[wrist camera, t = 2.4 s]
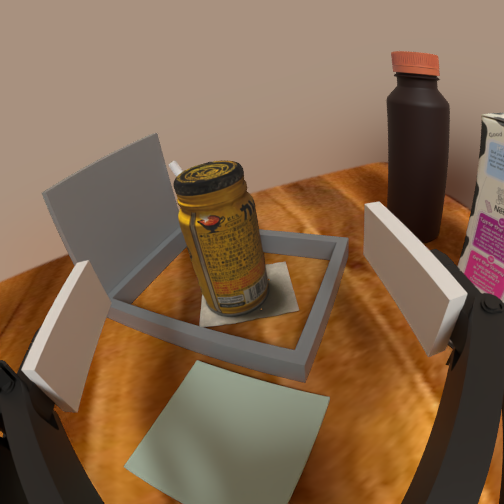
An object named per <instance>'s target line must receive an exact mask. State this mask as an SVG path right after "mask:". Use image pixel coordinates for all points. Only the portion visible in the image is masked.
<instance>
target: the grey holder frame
mask: <svg viewBox="0 0 504 504" xmlns="http://www.w3.org/2000/svg"><path fill="white" fill-rule="evenodd" d="M169 167H170V168H171V170H172V171H173V173H174V174H175V175H176V177H177V176H178V175H179V174H180V173H182V172H183V171H182V169H181V168H180V166H179V165H178V164H177V162H176V161H173V162H171V163H170V164H169ZM42 195H43V198H44V200H45V203H46V205H47V207H48V210H49V212H50V215H51V217H52V219H53V222H54V224H55V226H56V228H57V231H58V233H59V235H60V237H61V239H62V241H63V243H64V245H65V247H66V250H67V251H68V254H69V256H70V258H71V259H72V261H73V263H74V265H76V264H77V263H78V262H83V261H87V260H89V261H90V263H91V265H92V267H93V269H94V271H95V273H96V275H97V277H98V279H99V281H100V283H101V285H102V286H103V288H104V290H105V292H106V294H107V295H108V297H109V299H110V301H111V305H110V308H109V311H108V314H107V316H106V317H107V318H110V319H112V320H114V321H117V322H119V323H121V324H124V325H126V326H128V327H131V328H133V329H136V330H138V331H141V332H143V333H146V334H148V335H151V336H153V337H156V338H159V339H161V340H164V341H167V342H169V343H172V344H175V345H178V346H180V347H183V348H186V349H189V350H192V351H195V352H198V353H201V354H204V355H207V356H210V357H213V358H216V359H219V360H222V361H226V362H229V363H232V364H236V365H239V366H242V367H246V368H249V369H253V370H256V371H260V372H264V373H268V374H271V375H275V376H279V377H283V378H287V379H291V380H295V381H300V382H304V383H306V380H307V377H308V375H309V372H310V370H311V367H312V364H313V362H314V359H315V356H316V354H317V351H318V348H319V345H320V343H321V340H322V337H323V334H324V331H325V328H326V325H327V323H328V320H329V317H330V314H331V311H332V307H333V304H334V301H335V298H336V295H337V292H338V289H339V285H340V282H341V279H342V275H343V272H344V269H345V265H346V262H347V258H348V238H345V237H335V236H325V235H314V234H304V233H293V232H282V231H271V230H259V232H260V236H261V243H262V248H263V252H267V253H275V254H283V255H292V256H300V257H309V258H317V259H325V260H330V262H329V265H328V268H327V271H326V273H325V276H324V279H323V281H322V284H321V287H320V289H319V292H318V294H317V297H316V300H315V302H314V305H313V307H312V310H311V312H310V315H309V317H308V320H307V322H306V325H305V327H304V329H303V332H302V334H301V337H300V339H299V341H298V344H297V346H296V348H295V350H291V349H287V348H282V347H278V346H273V345H269V344H265V343H261V342H257V341H253V340H249V339H245V338H241V337H237V336H233V335H229V334H225V333H222V332H218V331H214V330H211V329H207V328H204V327H200V326H197V325H193V324H190V323H186V322H183V321H180V320H176V319H173V318H170V317H167V316H164V315H160V314H157V313H154V312H151V311H148V310H145V309H142V308H139V307H136V306H133V305H130V304H131V303H132V302H133V301H134V300H135V299H136V298H137V297H138V296H139V295H140V294H141V293H142V292H143V291H144V290H145V289H146V287H147V286H148V285H149V284H150V283H151V282H152V281H153V280H154V279H155V278H156V277H157V276H158V275H159V274H160V273H161V272H162V271H163V270H164V269H165V268H166V267H167V266H168V265H169V264H170V263H171V262H172V261H173V260H174V259H175V258H176V257H177V256H178V255H179V254H180V253H181V252H182V251H183V250H184V249H185V248H186V247H187V245H186V242H185V239H184V236H183V233H182V231H181V228H180V224H179V220H178V213H179V210H178V207H177V203H176V200H175V197H174V193H173V190H172V186H171V183H170V179H169V175H168V172H167V168H166V165H165V161H164V157H163V153H162V150H161V146H160V142H159V139H158V134H157V133H155V134H151V135H149V136H146V137H144V138H142V139H140V140H137V141H135V142H133V143H131V144H129V145H127V146H125V147H123V148H121V149H119V150H117V151H115V152H113V153H111V154H109V155H107V156H105V157H103V158H101V159H99V160H97V161H96V162H93V163H92V164H90V165H88V166H86V167H84V168H83V169H81V170H79V171H77V172H75V173H74V174H72V175H70V176H68V177H67V178H65V179H63V180H62V181H60V182H58V183H57V184H55V185H53V186H52V187H50V188H49V189H47V190H45V191H44V192H43V193H42Z"/></svg>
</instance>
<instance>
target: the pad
mask: <svg viewBox="0 0 504 504" xmlns="http://www.w3.org/2000/svg"><path fill="white" fill-rule="evenodd" d="M329 401H330V397H327V396H322V395H317V394H313V393H308V392H304V391H300V390H296V389H292V388H288V387H284V386H280V385H276V384H272V383H269V382H265V381H261V380H258V379H254V378H251V377H247V376H244V375H241V374H237V373H234V372H231V371H228V370H225V369H221V368H218V367H215V366H212V365H209V364H206V363H204V362H201V361H198V360H197V361H196V363H195V364H194V366H193V367H192V369H191V370H190V371H189V373H188V374H187V376H186V377H185V379H184V380H183V382H182V383H181V385H180V386H179V388H178V389H177V391H176V392H175V393H174V395H173V396H172V398H171V399H170V401H169V402H168V404H167V405H166V407H165V408H164V409H163V411H162V412H161V414H160V415H159V417H158V418H157V420H156V421H155V422H154V424H153V425H152V427H151V428H150V430H149V431H148V433H147V434H146V435H145V437H144V438H143V440H142V441H141V443H140V444H139V445H138V447H137V448H136V450H135V451H134V453H133V454H132V455H131V457H130V458H129V460H128V461H127V462H126V464H125V465H124V467H125V468H126V469H127V470H129V471H130V472H132V473H133V474H135V475H136V476H138V477H139V478H141V479H142V480H144V481H145V482H147V483H149V484H150V485H152V486H153V487H155V488H157V489H158V490H160V491H162V492H163V493H165V494H167V495H169V496H170V497H172V498H174V499H176V500H177V501H179V502H181V503H183V504H288V502H289V500H290V498H291V496H292V494H293V492H294V489H295V487H296V485H297V483H298V481H299V478H300V476H301V474H302V471H303V469H304V467H305V464H306V462H307V460H308V457H309V455H310V452H311V450H312V447H313V445H314V442H315V440H316V437H317V435H318V432H319V429H320V427H321V424H322V421H323V418H324V416H325V413H326V410H327V407H328V404H329Z"/></svg>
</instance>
